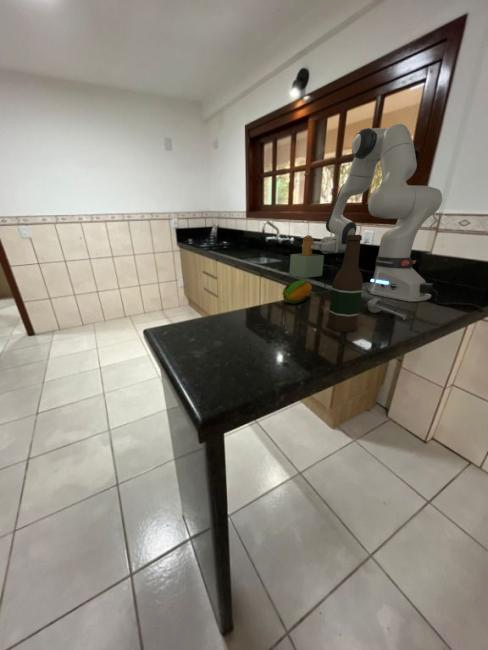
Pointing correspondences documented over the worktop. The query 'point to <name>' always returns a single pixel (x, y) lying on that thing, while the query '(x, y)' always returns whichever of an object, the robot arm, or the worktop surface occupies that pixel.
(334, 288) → the beer bottle
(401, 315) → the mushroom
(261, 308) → the worktop surface
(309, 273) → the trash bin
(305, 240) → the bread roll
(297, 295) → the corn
